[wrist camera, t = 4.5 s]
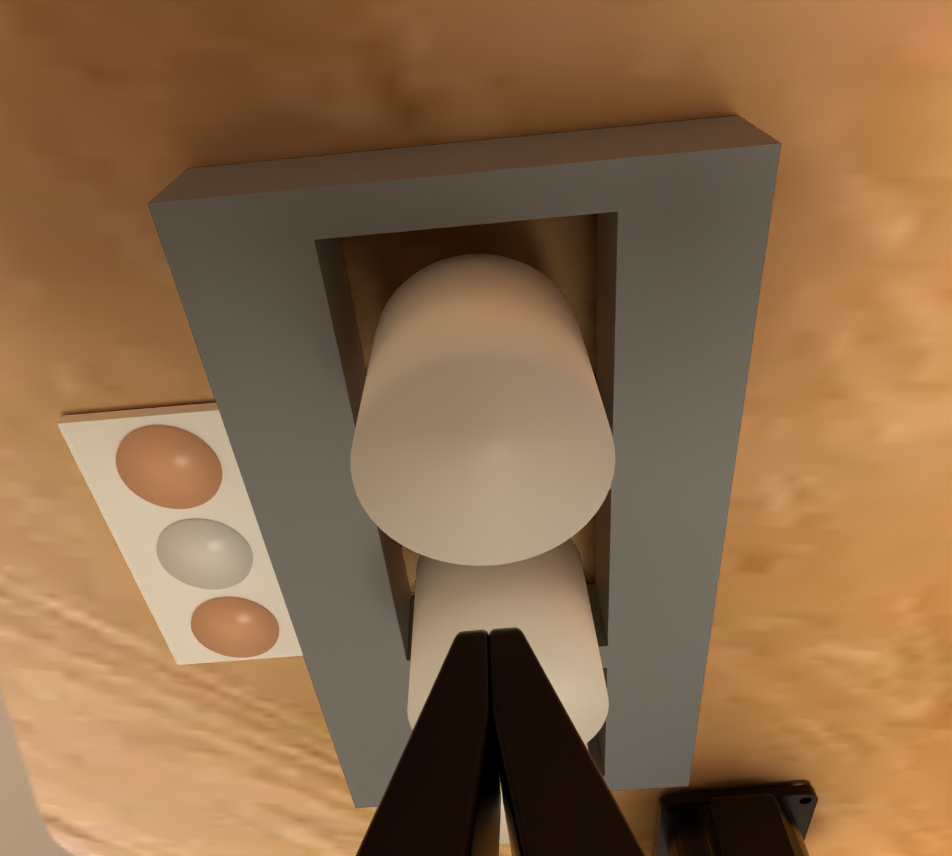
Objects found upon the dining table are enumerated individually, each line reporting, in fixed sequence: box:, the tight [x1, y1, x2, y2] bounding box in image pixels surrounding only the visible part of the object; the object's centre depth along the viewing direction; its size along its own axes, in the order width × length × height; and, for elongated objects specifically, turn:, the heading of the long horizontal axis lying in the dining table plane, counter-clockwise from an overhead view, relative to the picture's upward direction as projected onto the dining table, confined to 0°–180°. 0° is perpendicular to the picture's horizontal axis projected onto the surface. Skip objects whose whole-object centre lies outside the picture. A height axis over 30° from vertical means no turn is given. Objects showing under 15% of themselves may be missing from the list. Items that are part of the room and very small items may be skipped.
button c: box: [350, 254, 615, 566], centre depth 14 cm, size 5×5×4 cm
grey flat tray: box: [148, 115, 781, 808], centre depth 21 cm, size 22×12×2 cm, turn 5°
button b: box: [407, 538, 609, 744], centre depth 18 cm, size 5×5×4 cm
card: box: [57, 402, 303, 665], centre depth 22 cm, size 10×5×1 cm, turn 5°
